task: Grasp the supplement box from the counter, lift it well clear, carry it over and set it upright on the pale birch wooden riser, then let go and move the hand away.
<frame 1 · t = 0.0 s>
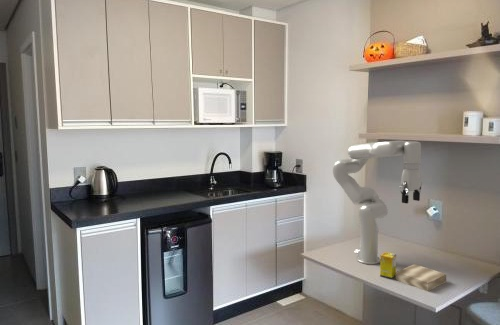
hand: (410, 201, 185), 37 cm above the table, tool pointing down, fingers open, 9 cm apart
supplement box: (387, 276, 187), on the table
birch riser: (420, 281, 181), on the table
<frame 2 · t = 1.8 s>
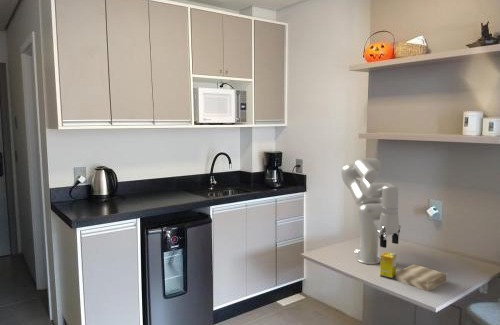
hand: (389, 245, 185), 16 cm above the table, tool pointing down, fingers open, 9 cm apart
nothing on the table moved.
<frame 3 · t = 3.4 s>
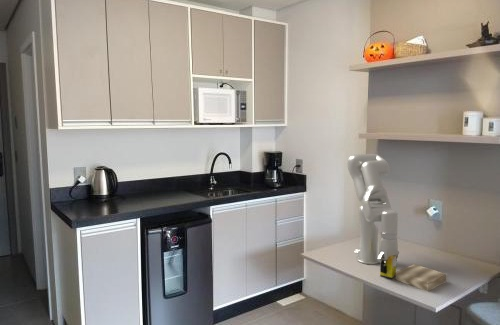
hand: (388, 270, 187), 3 cm above the table, tool pointing down, fingers closed on supplement box, 6 cm apart
supplement box: (387, 276, 187), on the table, touching gripper
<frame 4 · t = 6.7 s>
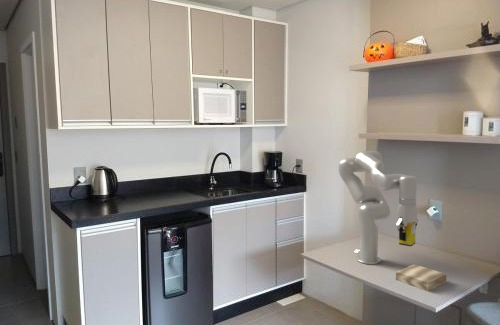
hand: (407, 238, 181), 20 cm above the table, tool pointing down, fingers closed on supplement box, 6 cm apart
supplement box: (407, 244, 181), point 17 cm above the table, touching gripper
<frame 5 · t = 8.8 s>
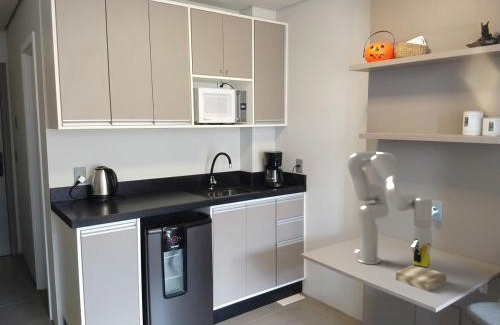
hand: (421, 259, 180), 11 cm above the table, tool pointing down, fingers closed on supplement box, 6 cm apart
supplement box: (421, 265, 180), point 8 cm above the table, touching gripper
when the fingers open (8 cm above the table, at t = 10.2 s): supplement box drops 1 cm, resting on birch riser.
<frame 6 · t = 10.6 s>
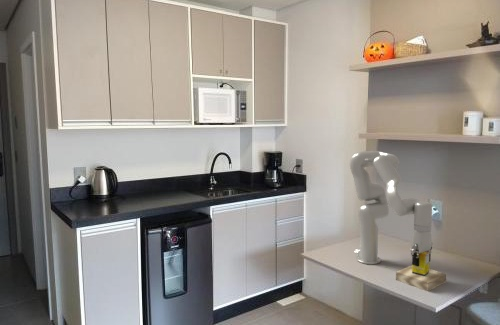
hand: (421, 263, 180), 9 cm above the table, tool pointing down, fingers open, 9 cm apart
supplement box: (420, 273, 180), point 4 cm above the table, touching birch riser
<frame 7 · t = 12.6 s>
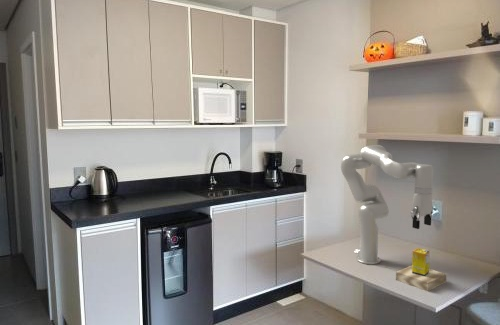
hand: (421, 226, 179), 26 cm above the table, tool pointing down, fingers open, 9 cm apart
nothing on the table moved.
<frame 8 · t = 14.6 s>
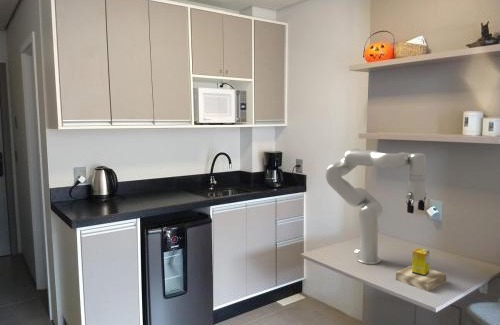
hand: (415, 211, 192), 30 cm above the table, tool pointing down, fingers open, 9 cm apart
nothing on the table moved.
at the end: supplement box inside the target area on the birch riser (0.4 cm from its centre), point 3.8 cm above the birch riser's base; supplement box tilted 0°; the gripper is holding nothing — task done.
